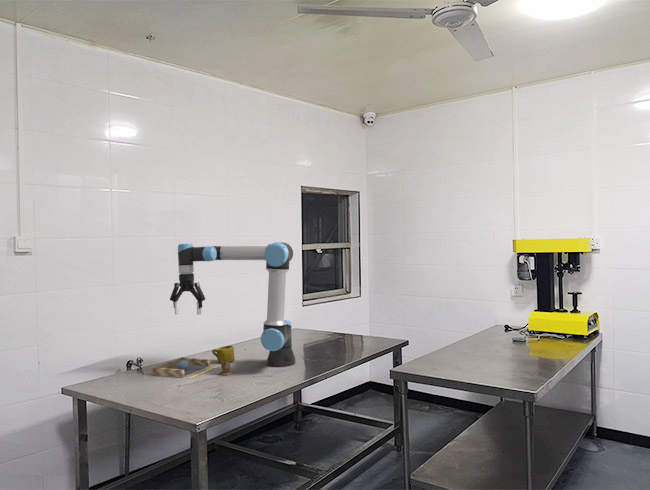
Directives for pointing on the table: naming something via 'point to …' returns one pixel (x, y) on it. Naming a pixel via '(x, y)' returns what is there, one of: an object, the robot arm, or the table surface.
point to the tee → (225, 368)
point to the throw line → (203, 372)
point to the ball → (183, 364)
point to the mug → (224, 353)
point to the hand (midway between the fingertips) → (188, 314)
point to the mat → (190, 368)
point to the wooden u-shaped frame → (165, 368)
